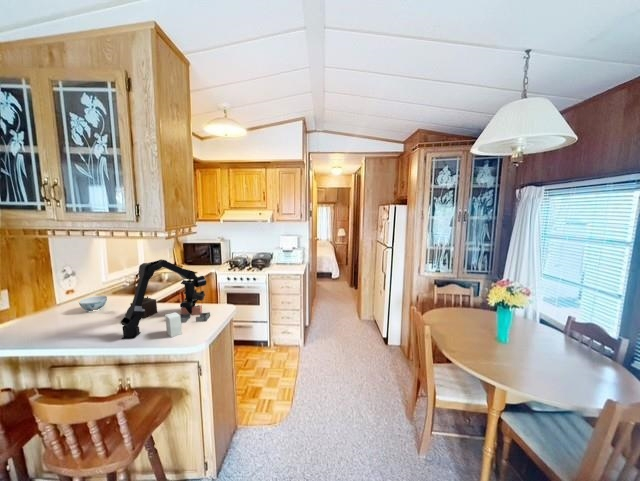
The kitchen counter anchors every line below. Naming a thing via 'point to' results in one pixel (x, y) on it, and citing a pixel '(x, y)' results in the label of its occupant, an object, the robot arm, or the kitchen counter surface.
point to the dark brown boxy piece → (148, 306)
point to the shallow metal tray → (202, 317)
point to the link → (195, 310)
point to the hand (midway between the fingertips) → (191, 312)
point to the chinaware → (93, 303)
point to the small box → (173, 324)
